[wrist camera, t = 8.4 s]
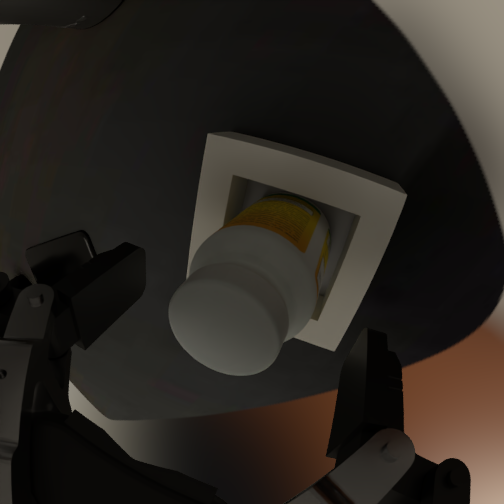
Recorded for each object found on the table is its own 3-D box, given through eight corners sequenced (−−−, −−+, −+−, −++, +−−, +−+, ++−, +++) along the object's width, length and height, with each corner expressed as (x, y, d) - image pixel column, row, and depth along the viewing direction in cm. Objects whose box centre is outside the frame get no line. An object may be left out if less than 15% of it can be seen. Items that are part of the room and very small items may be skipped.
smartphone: (89, 226, 24) (27, 248, 30) (82, 229, 23) (22, 250, 30) (120, 301, 27) (50, 300, 33) (114, 305, 26) (46, 303, 32)
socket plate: (231, 131, 16) (207, 133, 14) (398, 183, 14) (407, 195, 12) (205, 272, 21) (184, 293, 19) (338, 322, 19) (334, 351, 17)
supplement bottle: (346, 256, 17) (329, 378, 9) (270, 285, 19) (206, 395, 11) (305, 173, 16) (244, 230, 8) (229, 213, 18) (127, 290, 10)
